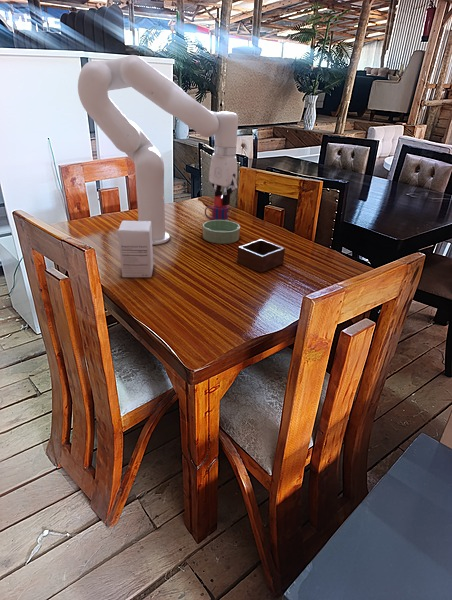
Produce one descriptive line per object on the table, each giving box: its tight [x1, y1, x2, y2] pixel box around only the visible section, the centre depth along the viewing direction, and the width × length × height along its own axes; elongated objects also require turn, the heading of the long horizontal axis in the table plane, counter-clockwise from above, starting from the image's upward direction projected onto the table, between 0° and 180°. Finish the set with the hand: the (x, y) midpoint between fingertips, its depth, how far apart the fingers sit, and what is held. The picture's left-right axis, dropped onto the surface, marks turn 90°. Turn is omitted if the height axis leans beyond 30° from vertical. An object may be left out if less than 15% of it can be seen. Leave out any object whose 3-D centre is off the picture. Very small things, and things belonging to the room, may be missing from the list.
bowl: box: [201, 219, 241, 245], centre depth 153 cm, size 14×14×4 cm
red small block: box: [213, 194, 231, 207], centre depth 147 cm, size 5×3×3 cm
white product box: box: [117, 220, 154, 278], centre depth 120 cm, size 9×9×15 cm
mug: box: [204, 204, 230, 221], centre depth 168 cm, size 7×10×7 cm
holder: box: [236, 238, 286, 274], centre depth 133 cm, size 12×11×6 cm
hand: (221, 203), depth 147 cm, fingers closed on red small block, 3 cm apart
